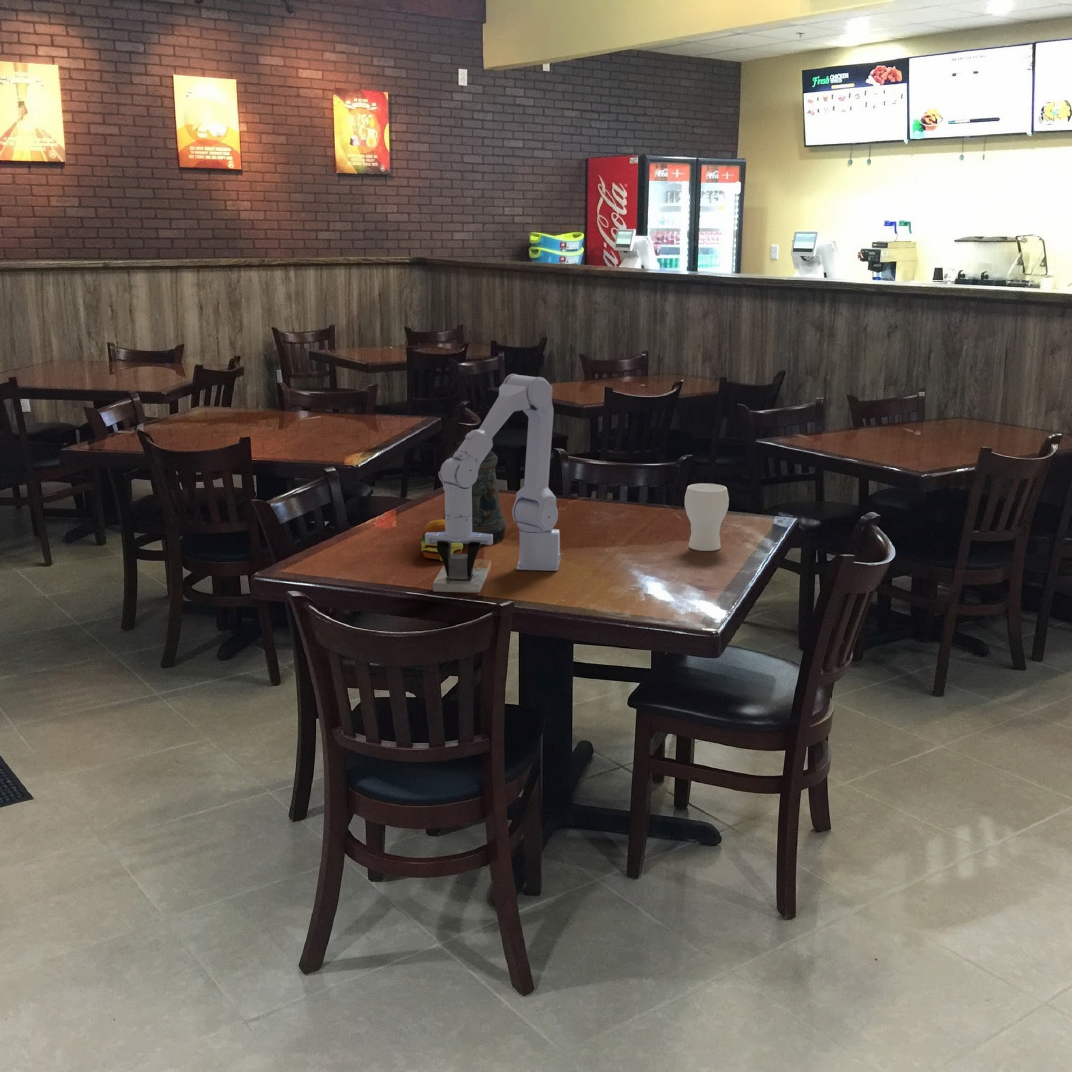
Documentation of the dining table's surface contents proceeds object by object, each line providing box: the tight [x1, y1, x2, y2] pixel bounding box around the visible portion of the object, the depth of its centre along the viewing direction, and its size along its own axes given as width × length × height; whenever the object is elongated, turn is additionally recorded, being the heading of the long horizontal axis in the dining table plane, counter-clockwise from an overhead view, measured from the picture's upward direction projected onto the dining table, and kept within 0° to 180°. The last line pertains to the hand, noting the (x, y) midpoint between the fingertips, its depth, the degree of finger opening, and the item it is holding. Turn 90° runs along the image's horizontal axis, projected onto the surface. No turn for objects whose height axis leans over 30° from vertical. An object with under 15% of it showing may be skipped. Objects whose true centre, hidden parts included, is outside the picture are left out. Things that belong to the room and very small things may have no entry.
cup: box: [684, 483, 730, 552], centre depth 275 cm, size 11×11×15 cm
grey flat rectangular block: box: [432, 558, 492, 594], centre depth 250 cm, size 10×20×2 cm, turn 175°
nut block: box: [449, 553, 470, 581], centre depth 245 cm, size 4×4×6 cm
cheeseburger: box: [420, 518, 464, 562], centre depth 268 cm, size 10×11×10 cm
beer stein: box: [442, 437, 507, 546], centre depth 284 cm, size 16×19×25 cm
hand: (459, 575), depth 245 cm, fingers closed on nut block, 4 cm apart
